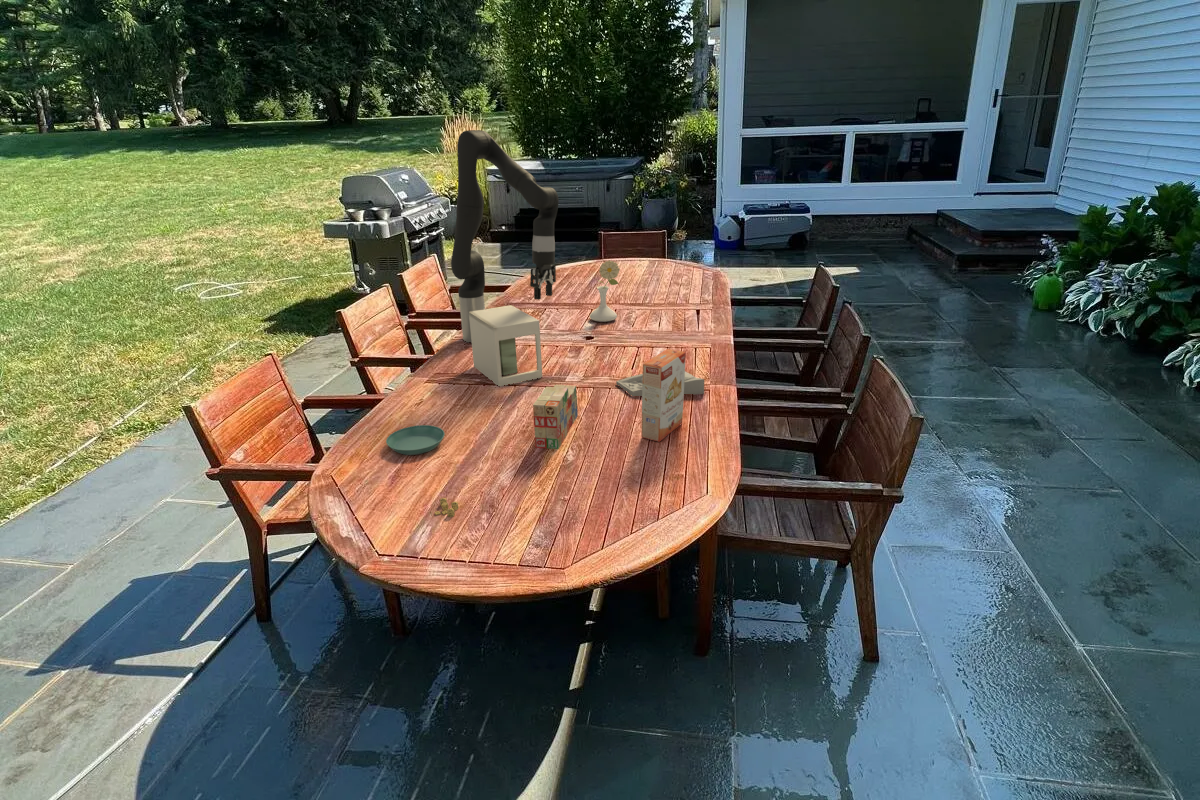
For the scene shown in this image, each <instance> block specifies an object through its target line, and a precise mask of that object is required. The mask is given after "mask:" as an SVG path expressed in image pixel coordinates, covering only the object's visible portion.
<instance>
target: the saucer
mask: <svg viewBox="0 0 1200 800" xmlns="http://www.w3.org/2000/svg"><path fill="white" fill-rule="evenodd" d="M445 435H446V434H445V431H444V430H443V428H441V427H438V426H435V425H428V424H427V425H426V424H421V425H413V426H407V427H404V428H401V429H398V430H396V431H394V432H392V433H391V434H389V435H388V436H387V438H386V439H385V443H386V445H387V446H388V447H389V448H390V449H391V450H393V451H394V452H396V453H398V454H401V455H405V456H414V455H421V454H425V453H429V452H430V451H433V450H434V449H436V448H437V447H438V446H439V445H440V444H441V442H442V441H443V440H444V438H445Z"/></svg>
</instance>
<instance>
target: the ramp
mask: <svg viewBox="0 0 1200 800" xmlns="http://www.w3.org/2000/svg"><path fill="white" fill-rule="evenodd" d="M642 381H643V373H640V374H635V375H631V376H628V377H626V378H622V379H619V380H616V383H615V385H616V384H617V385H619V386H620V387H621V388H623V389H624V390H625V391H627V392H628V393H629V394H630V395H629V394H628V393H627V394H628V395H629V396H631V395H632V396H642ZM617 385H616V386H617ZM620 387H619V388H620ZM621 388H620V389H621ZM624 390H623V391H624ZM625 391H624V392H625ZM684 394H693V395H704V394H705V379H704V378H701V377H696V376H695V375H693V374H691V373H690V372H687V371H686V370H685V379H684ZM632 396H631V397H632Z"/></svg>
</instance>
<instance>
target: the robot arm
mask: <svg viewBox="0 0 1200 800" xmlns="http://www.w3.org/2000/svg"><path fill="white" fill-rule="evenodd" d="M456 146H457V149H456V153H457V168H458V169H457V170H458V171H457V172H458V173H457V175H458V176H457V197H456V208H455V209H456V212H455V213H456V217H455V218H456V219H455V230H454V231H455V232H454V241H453V248H452V253H451V259H450V260H451V261H450V267H451V271H452V274H453V276H454V277H455V278H456V279H458V280H464V281H463V283H462V284H461V285H460V287H458V290H457V292H458V301H459V302H458V303H459V312H460V322H461V331H462V340H464V341H463V342H465V341H466V342H465V343H469V342H471V344H472V341H471V331H470V321H469V312H471V311H477V310H484V309H486V308H485V295H484V291H485V287H486V278H485V277H486V276H485V275H486V274H485V273H486V272H485V264H484V263H485V262H484V259H483V257H482V255H481V254H480V253H479V252H478V251H476V250H472V246H473V241H474V240H475V237H476V234H477V232H478V231H479V228H480V226H481V224H482V221H483V218H484V205H485V203H484V195H483V192H482V189H481V187H480V185H479V181H478V177H477V165H478V160H483V159H484V160H485V161H488V162H490V164H492V165H493V166H495V167H496V169H497V170H498V171H499V173H500V176H502V178H503V180H505V183H507V184H508V185H509V186H511V188H513V189H514V190H516V191H517V192H518V193H519V194H521V196H522V198H523V199H524V200H525V201H526V202H527V204H528V205H530V207H532V208H533V209H536V210H539V213H538V216H536V217H535V218H534V219H533V223H532V226H533V228H532V231H533V232H532V233H533V234H532V247H531V248H532V249H531V251H532V258H531V259H532V263H533V265H535V268H530V284H529V285H530V287H531V288H533V294H534V295H533V299H534V300H537V301H539V300H541V299H542V285H543V283H544V282H545V284H546V285H545V296H546V297H552V296H553V285H554V283H556V281H557V278H556V276H557V273H556V269H557V268H556V265H555V255H556V242H555V240H556V239H555V222H556V219H557V214H558V209H559V204H560V202H559V200H560V199H559V195H558V192H557V191H556V189H555V188H553V187H550V186H547V187H546V186H543V187H542V186H541V185H538V183H537V180H536V178H535V177H534V176H533V175H532V173H530V172H529V171H527V170H526V169H525V168H523V166H521V165H520V164H519V163H517V162H516V161H515V160H514V159H513V158H512V157H511V156H510V155H509V154H507V152H506V151H505V150H504V149H503V148H502V147H501V145H499V143H497V142H496V139H494V138H493V137H492V136H491V135H490V134H489V133H488V132H487V131H485V130H481V129H475V130H474V129H472V130H464V131H461V133H460V134H459V136H458V139H457V145H456Z"/></svg>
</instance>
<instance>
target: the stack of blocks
mask: <svg viewBox="0 0 1200 800" xmlns="http://www.w3.org/2000/svg"><path fill="white" fill-rule="evenodd" d="M532 413H533V427H534V441H535V442H534V445H535V448H539V449H549V450H551V449H553V450H559V449H560V447H561V445H562V444H563V442H564V441H565V439H566V438H567V436H568V434H569V431H570V429H571V428H572V426H573V424H574V423H575V422H576V420H577V417H578V415H579V413H578V395H577V385H571V384H570V385H567V384H566V385H564V384H555V385H554V386H545V388H543V391H542V392H541V394H540V395H539V396H538V397H537V399H536V400H535V401H534V403H532Z"/></svg>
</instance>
